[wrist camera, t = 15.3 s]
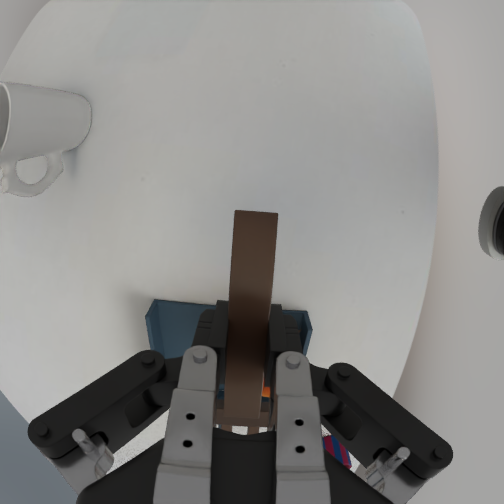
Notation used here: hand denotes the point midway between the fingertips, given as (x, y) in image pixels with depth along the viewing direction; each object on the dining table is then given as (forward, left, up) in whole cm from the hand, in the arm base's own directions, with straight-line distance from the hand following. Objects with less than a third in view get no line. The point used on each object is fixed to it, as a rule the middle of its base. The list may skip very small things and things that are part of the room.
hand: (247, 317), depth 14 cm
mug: (+19, -10, -14) cm, 26 cm away
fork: (0, +3, +1) cm, 3 cm away
